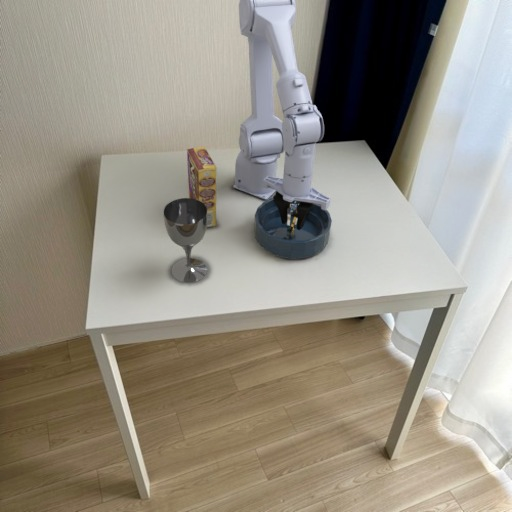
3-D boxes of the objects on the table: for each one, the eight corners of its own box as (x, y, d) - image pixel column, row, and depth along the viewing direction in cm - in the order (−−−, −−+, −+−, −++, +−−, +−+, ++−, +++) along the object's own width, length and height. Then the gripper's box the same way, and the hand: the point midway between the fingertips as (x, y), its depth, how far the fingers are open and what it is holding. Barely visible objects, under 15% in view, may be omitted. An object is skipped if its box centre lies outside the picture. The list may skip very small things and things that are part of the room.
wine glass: (170, 257, 107) (164, 198, 97) (209, 256, 108) (207, 197, 98) (168, 285, 102) (162, 224, 91) (209, 283, 102) (207, 224, 92)
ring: (294, 245, 111) (297, 215, 105) (279, 241, 111) (282, 211, 106) (303, 226, 116) (306, 196, 110) (289, 223, 116) (292, 193, 111)
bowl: (240, 242, 112) (240, 224, 108) (277, 204, 122) (278, 187, 119) (307, 271, 106) (310, 252, 102) (340, 229, 116) (343, 211, 113)
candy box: (218, 226, 116) (217, 167, 105) (199, 229, 114) (196, 170, 104) (207, 203, 122) (205, 145, 111) (189, 206, 121) (185, 148, 110)
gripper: (256, 168, 103) (254, 222, 112) (322, 191, 97) (314, 246, 107) (273, 152, 107) (270, 205, 116) (338, 174, 102) (329, 228, 111)
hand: (292, 224), depth 112 cm, fingers closed on ring, 3 cm apart
